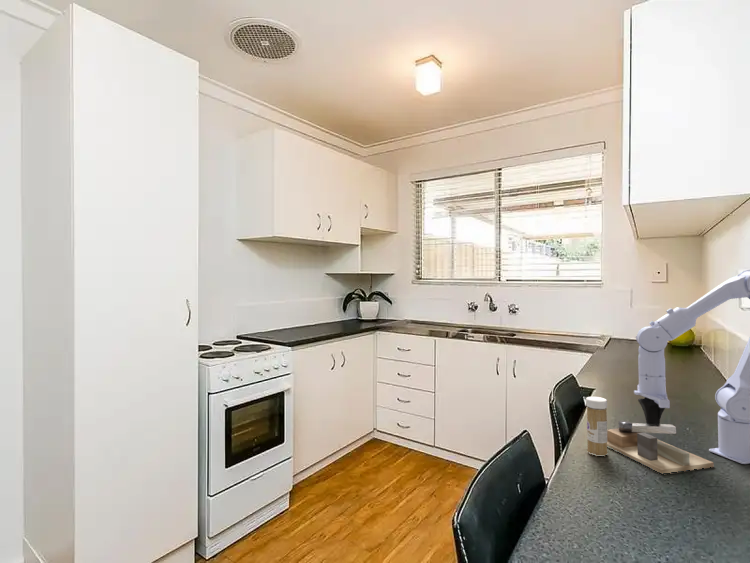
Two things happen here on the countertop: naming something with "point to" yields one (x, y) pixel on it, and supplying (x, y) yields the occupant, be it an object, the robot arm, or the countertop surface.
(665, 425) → the bar
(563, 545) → the countertop surface
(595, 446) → the sprinkles bottle
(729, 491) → the countertop surface
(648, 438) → the wooden base plank
